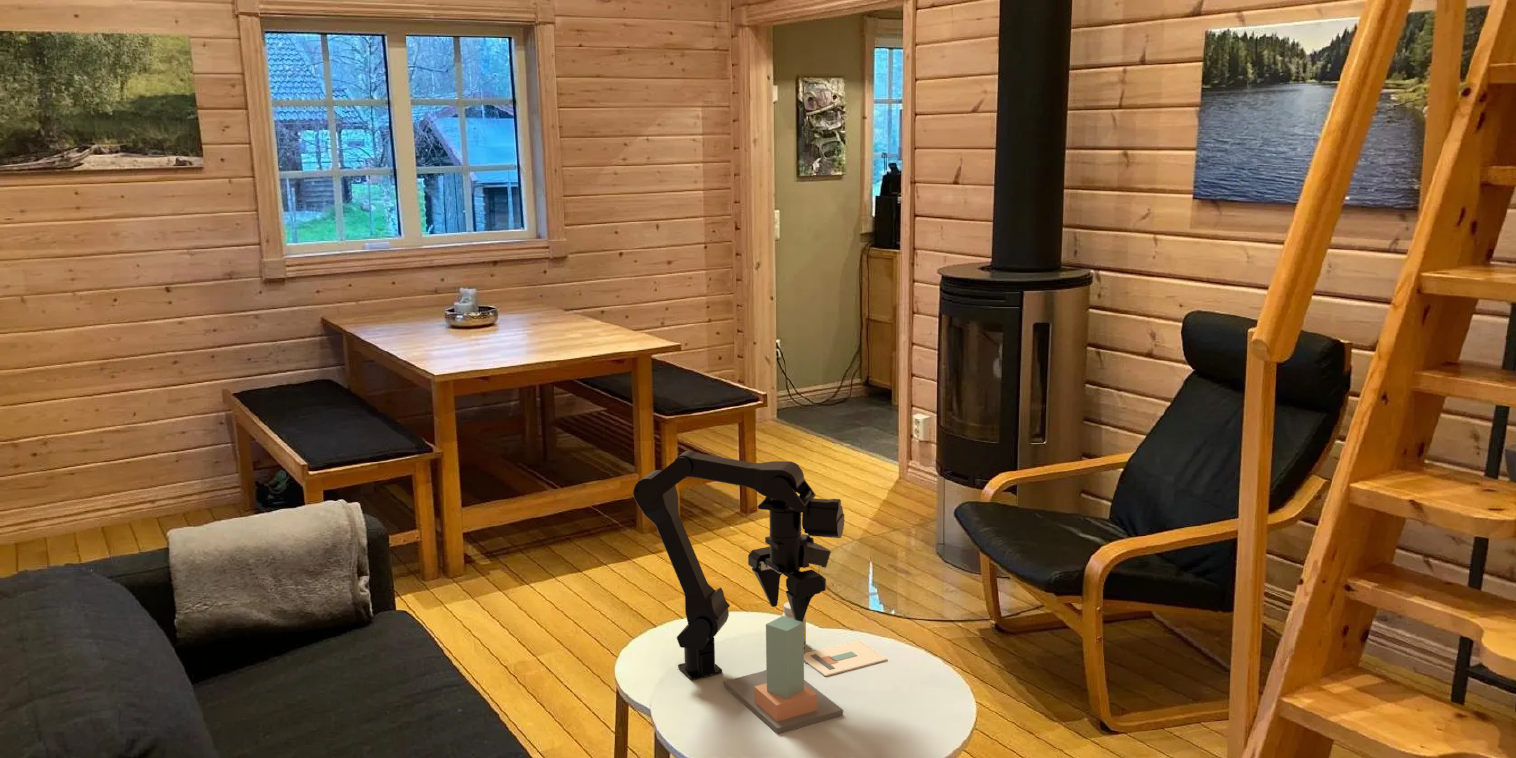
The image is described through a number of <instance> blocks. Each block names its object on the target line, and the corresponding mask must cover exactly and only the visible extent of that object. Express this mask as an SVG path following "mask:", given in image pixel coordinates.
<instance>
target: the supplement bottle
mask: <svg viewBox="0 0 1516 758" xmlns="http://www.w3.org/2000/svg"><path fill="white" fill-rule="evenodd" d="M782 610H783V613H782V615H781V616H785V617H788V618H791V619H794V616H793V613H792V610H791V607H790V604H789V601H787V602H785V603H784V604H783V609H782ZM794 620H795V619H794ZM803 622H804V647H805V646H806V643H807V616H806V614H805V617H804V619H803Z"/></svg>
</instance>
